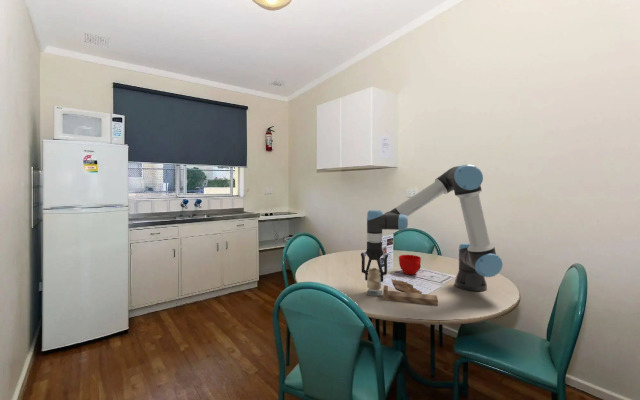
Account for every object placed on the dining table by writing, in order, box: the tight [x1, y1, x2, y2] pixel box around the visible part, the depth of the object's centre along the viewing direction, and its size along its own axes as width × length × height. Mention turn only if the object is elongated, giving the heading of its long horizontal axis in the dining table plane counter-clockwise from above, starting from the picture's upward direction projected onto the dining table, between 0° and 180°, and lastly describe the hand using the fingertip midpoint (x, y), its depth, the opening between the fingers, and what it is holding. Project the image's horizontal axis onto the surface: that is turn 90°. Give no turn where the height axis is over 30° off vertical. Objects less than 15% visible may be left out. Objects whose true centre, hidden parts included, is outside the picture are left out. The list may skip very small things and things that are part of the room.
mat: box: [365, 288, 383, 298], centre depth 144 cm, size 7×7×1 cm
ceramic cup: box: [398, 254, 422, 276], centre depth 176 cm, size 13×17×10 cm
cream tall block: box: [367, 267, 380, 290], centre depth 144 cm, size 5×5×10 cm
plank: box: [382, 285, 439, 306], centre depth 136 cm, size 24×6×5 cm, turn 73°
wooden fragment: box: [391, 278, 423, 294], centre depth 154 cm, size 26×11×1 cm, turn 9°
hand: (374, 287), depth 144 cm, fingers closed on cream tall block, 5 cm apart
